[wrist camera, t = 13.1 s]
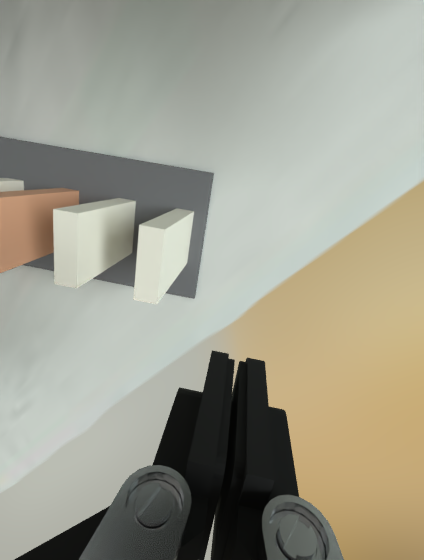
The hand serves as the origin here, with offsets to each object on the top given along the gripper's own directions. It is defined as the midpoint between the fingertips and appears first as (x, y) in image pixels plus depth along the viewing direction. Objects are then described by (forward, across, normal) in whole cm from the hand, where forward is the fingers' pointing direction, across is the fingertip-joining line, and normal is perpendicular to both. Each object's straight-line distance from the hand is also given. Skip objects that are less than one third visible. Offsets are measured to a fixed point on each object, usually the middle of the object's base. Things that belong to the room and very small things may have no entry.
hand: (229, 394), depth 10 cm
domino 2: (+20, +6, 0) cm, 21 cm away
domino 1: (+20, +11, 0) cm, 23 cm away
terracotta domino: (+20, +17, 0) cm, 26 cm away
